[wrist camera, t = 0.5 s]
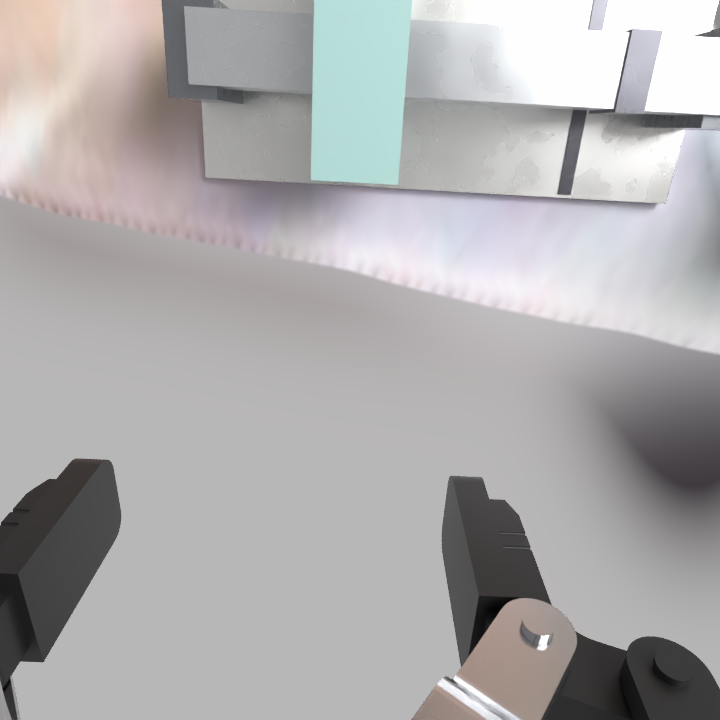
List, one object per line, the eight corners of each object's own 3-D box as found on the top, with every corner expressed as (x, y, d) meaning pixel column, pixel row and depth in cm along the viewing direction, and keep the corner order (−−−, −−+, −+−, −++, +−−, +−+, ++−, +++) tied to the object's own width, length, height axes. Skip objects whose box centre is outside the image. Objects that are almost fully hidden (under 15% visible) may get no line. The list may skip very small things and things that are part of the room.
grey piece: (196, -73, 30) (143, -134, 23) (721, -41, 31) (829, -91, 24) (208, 176, 35) (168, 189, 28) (659, 202, 36) (732, 221, 29)
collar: (330, -48, 30) (315, -116, 21) (405, -44, 30) (420, -109, 21) (324, 166, 34) (310, 180, 25) (390, 170, 34) (397, 184, 25)
